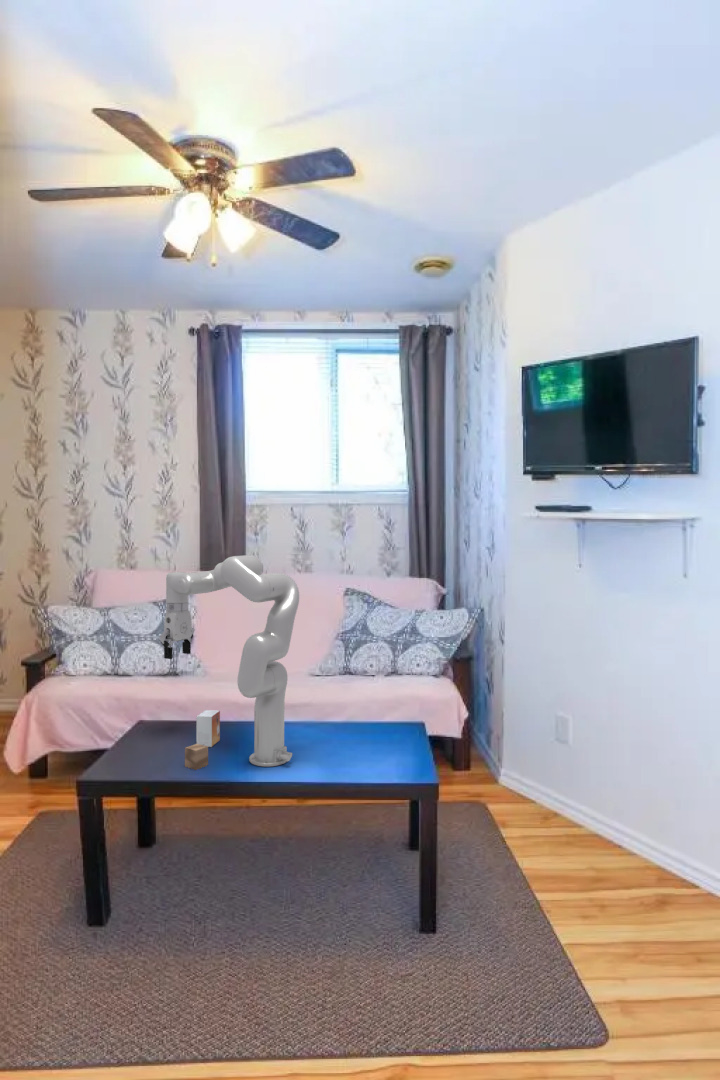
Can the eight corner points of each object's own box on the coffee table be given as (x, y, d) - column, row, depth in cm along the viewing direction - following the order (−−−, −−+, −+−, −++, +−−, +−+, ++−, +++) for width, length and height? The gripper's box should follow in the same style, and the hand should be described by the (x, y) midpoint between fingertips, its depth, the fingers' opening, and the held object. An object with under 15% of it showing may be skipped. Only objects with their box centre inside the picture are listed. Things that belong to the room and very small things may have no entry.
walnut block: (208, 765, 210) (208, 746, 210) (195, 770, 206) (195, 750, 206) (197, 762, 213) (197, 743, 213) (184, 766, 209) (184, 747, 208)
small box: (211, 747, 226) (211, 716, 226) (195, 746, 227) (196, 715, 227) (220, 740, 234) (220, 710, 234) (205, 739, 235) (205, 709, 235)
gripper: (169, 611, 225) (169, 661, 226) (201, 605, 241) (201, 652, 242) (151, 609, 228) (152, 659, 229) (184, 604, 244) (184, 650, 245)
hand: (177, 656), depth 235 cm, fingers open, 9 cm apart
